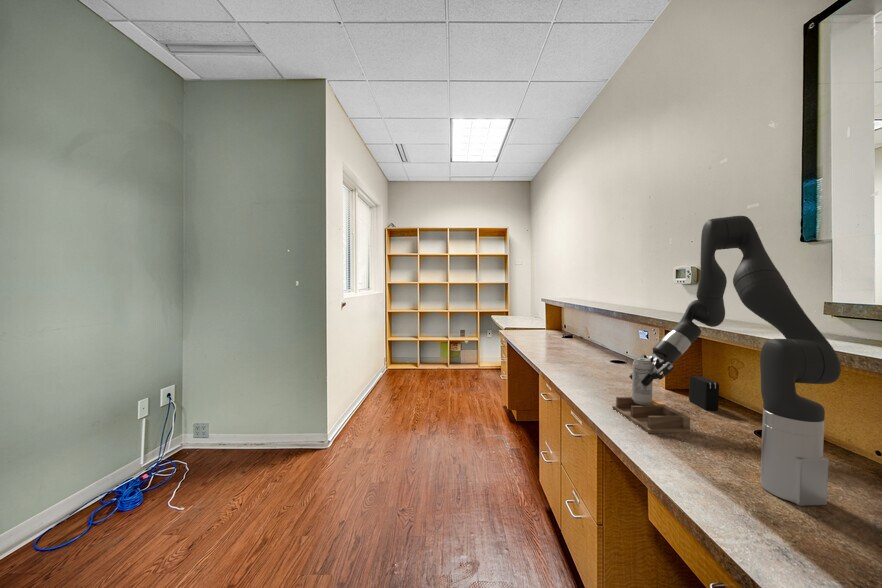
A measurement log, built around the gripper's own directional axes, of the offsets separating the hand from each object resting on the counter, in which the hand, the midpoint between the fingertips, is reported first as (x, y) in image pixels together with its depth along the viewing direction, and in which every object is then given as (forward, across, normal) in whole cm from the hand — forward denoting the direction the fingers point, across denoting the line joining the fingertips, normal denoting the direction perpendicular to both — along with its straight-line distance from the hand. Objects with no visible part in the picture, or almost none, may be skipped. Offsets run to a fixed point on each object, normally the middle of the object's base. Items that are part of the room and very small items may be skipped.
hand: (637, 381), depth 118 cm
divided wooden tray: (+7, +4, +9) cm, 12 cm away
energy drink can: (+4, 0, +7) cm, 8 cm away
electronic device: (-13, -8, +30) cm, 33 cm away
